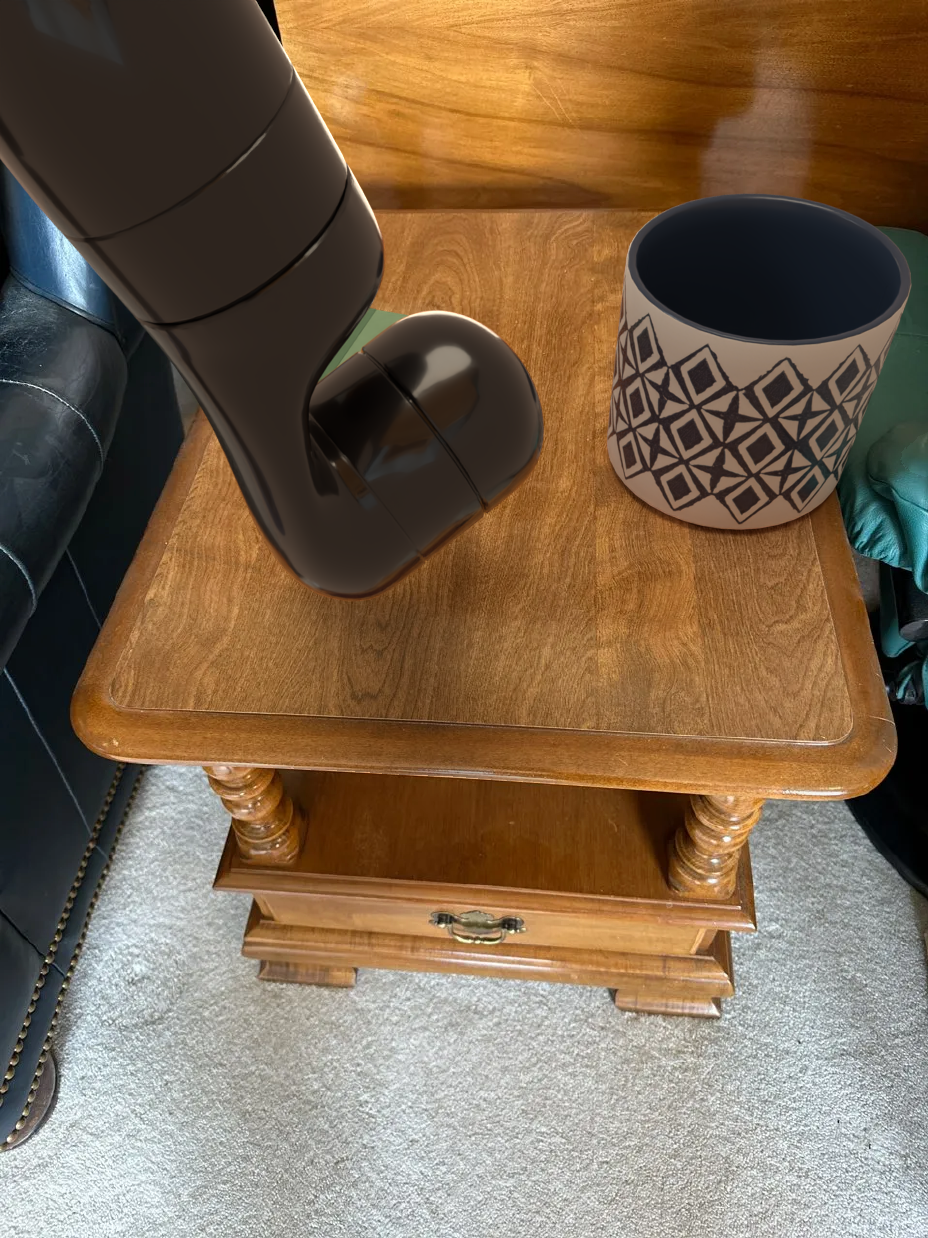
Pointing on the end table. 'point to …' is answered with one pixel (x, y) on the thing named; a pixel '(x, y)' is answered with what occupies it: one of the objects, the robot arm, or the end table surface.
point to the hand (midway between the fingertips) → (378, 489)
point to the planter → (749, 355)
